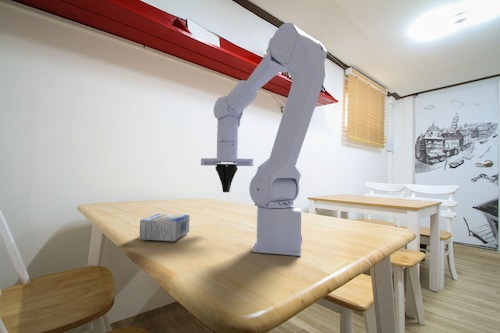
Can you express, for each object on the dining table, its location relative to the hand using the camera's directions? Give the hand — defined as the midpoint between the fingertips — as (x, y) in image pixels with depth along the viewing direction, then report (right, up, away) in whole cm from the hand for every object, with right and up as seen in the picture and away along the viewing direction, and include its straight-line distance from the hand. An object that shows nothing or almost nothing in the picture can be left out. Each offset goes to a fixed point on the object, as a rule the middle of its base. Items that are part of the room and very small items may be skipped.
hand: (226, 192), depth 62 cm
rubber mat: (-13, -10, -8) cm, 18 cm away
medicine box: (-9, -7, -9) cm, 15 cm away
